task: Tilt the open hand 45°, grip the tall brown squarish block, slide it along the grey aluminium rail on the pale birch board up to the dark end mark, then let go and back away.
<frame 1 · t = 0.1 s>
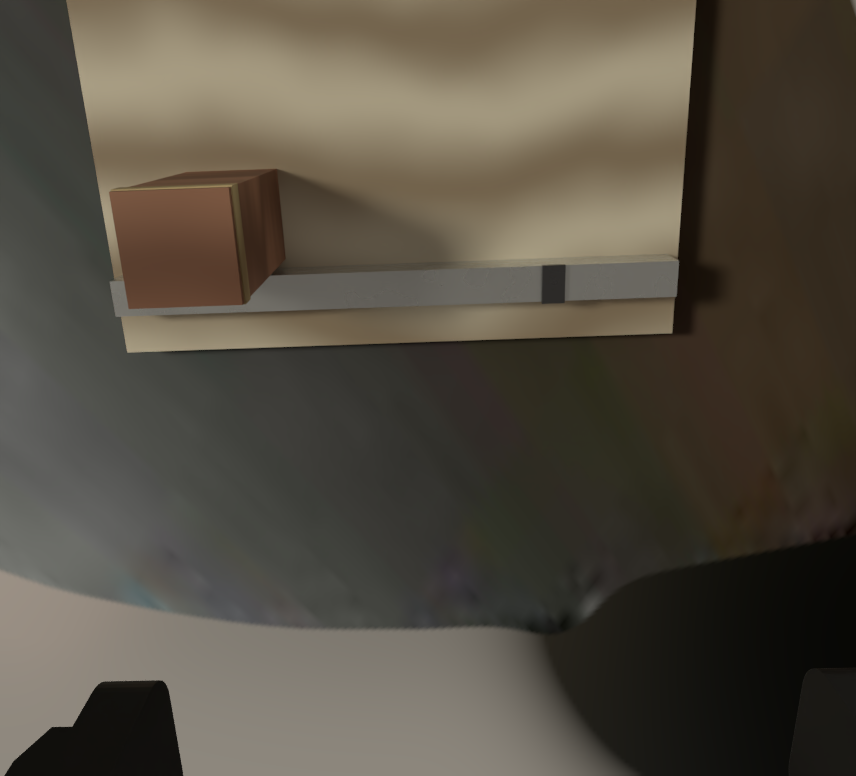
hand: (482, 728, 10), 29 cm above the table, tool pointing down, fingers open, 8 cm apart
brown squarish block: (237, 216, 35), point 1 cm above the table, touching board
rail: (396, 274, 37), resting on board
board: (391, 166, 36), on the table
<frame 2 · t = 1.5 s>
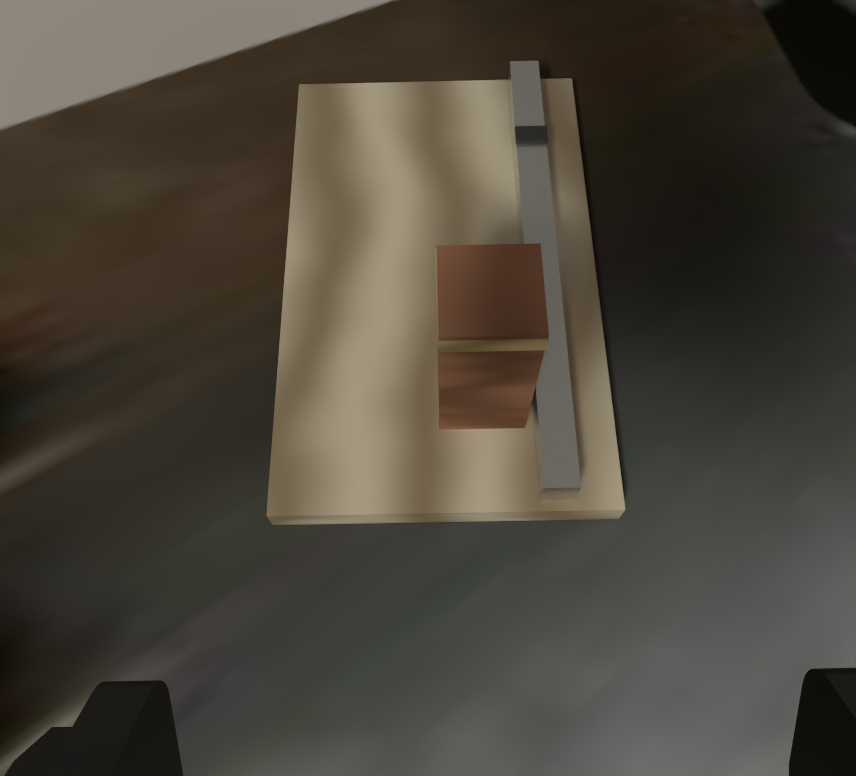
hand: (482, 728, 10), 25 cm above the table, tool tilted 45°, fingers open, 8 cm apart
brown squarish block: (480, 390, 37), point 1 cm above the table, touching board
rail: (533, 281, 41), resting on board
board: (439, 283, 41), on the table
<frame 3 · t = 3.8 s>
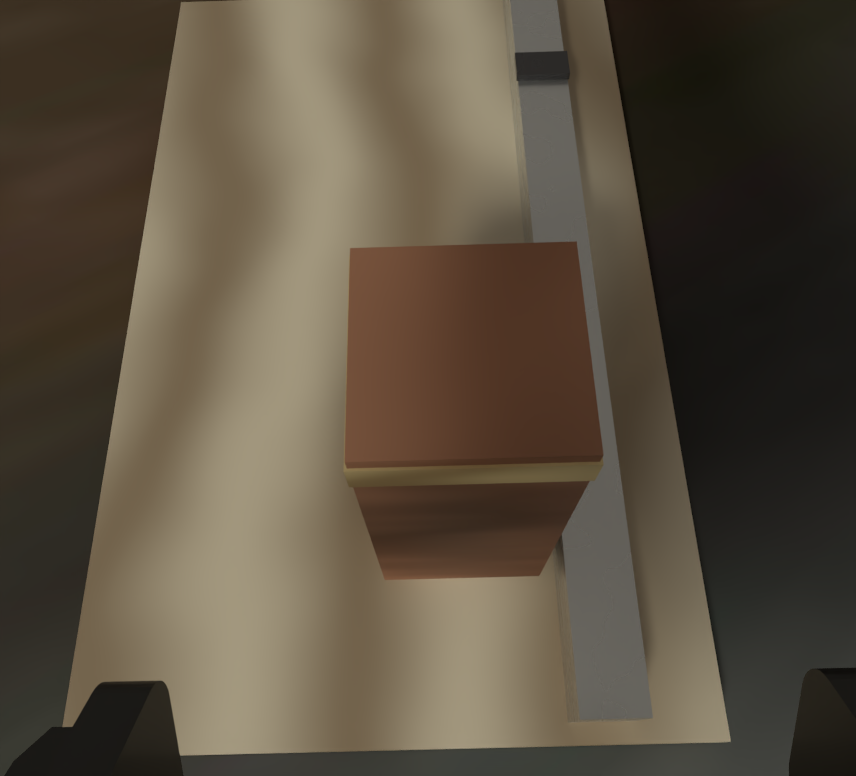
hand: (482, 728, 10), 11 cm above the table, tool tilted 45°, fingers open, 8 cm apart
brown squarish block: (458, 503, 21), point 1 cm above the table, touching board
rail: (548, 306, 25), resting on board
board: (394, 310, 25), on the table
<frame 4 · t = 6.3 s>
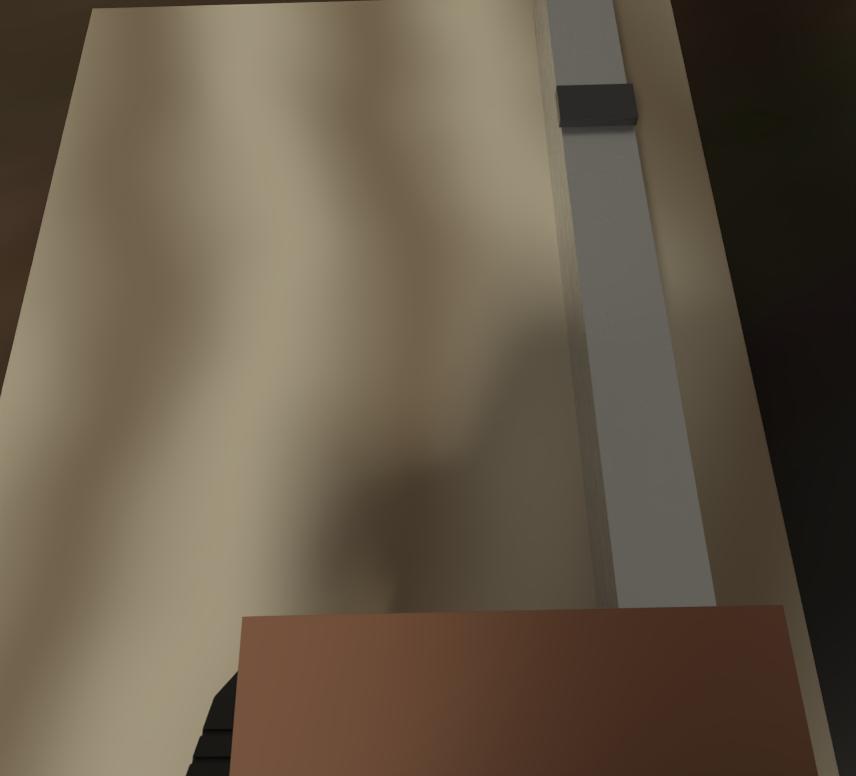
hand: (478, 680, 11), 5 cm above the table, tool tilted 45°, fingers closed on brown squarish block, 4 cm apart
rail: (603, 455, 17), resting on board
board: (379, 461, 17), on the table
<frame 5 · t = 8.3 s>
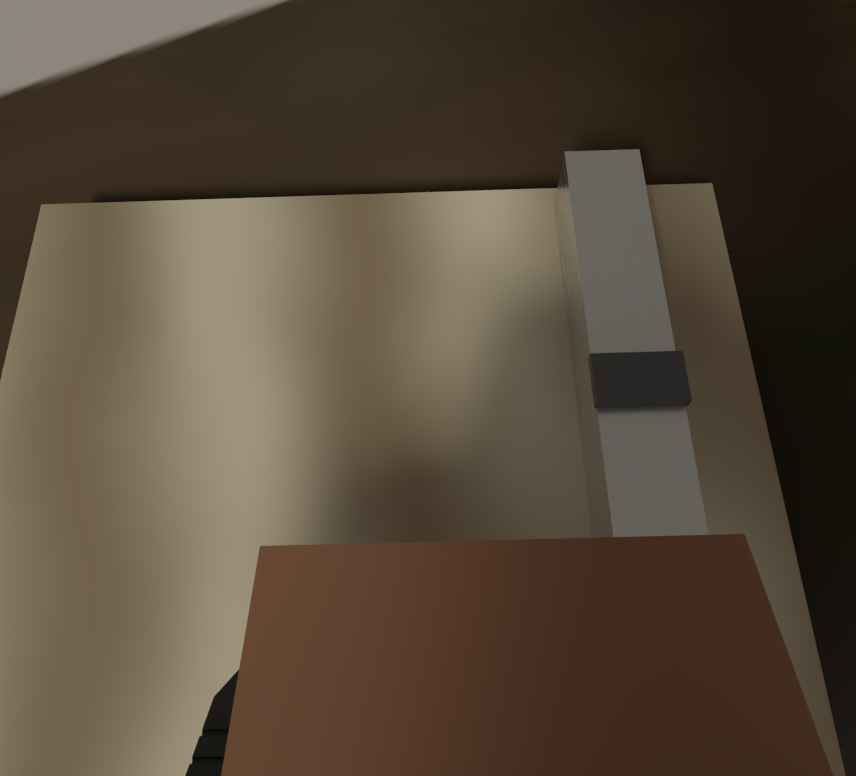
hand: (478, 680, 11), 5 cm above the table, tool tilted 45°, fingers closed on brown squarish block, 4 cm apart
when the fingers open (5 cm above the table, at t = 10.3 s): brown squarish block stays where it is, resting on board.
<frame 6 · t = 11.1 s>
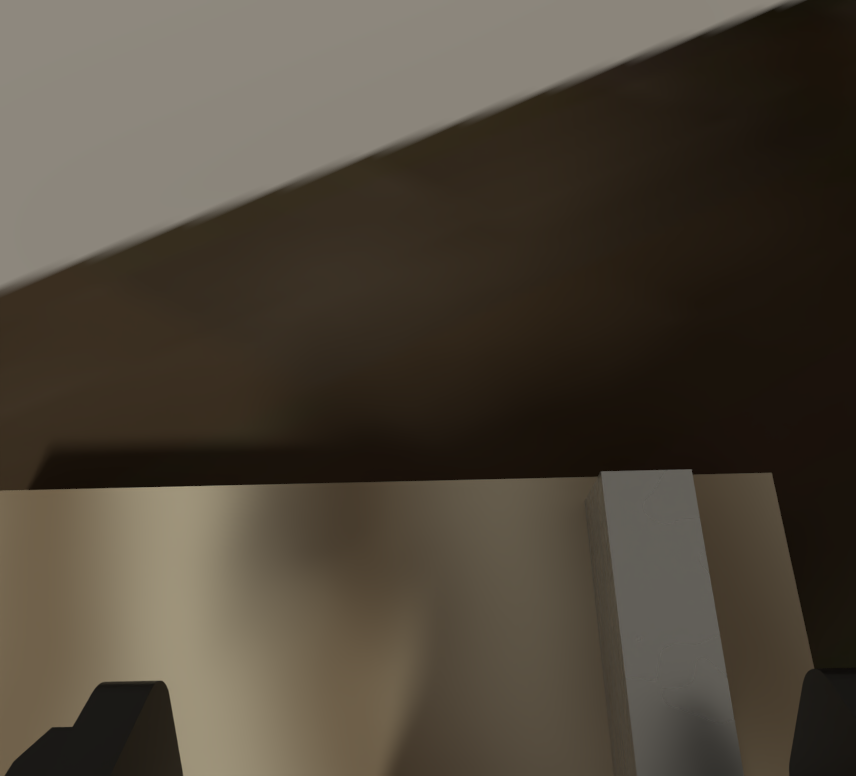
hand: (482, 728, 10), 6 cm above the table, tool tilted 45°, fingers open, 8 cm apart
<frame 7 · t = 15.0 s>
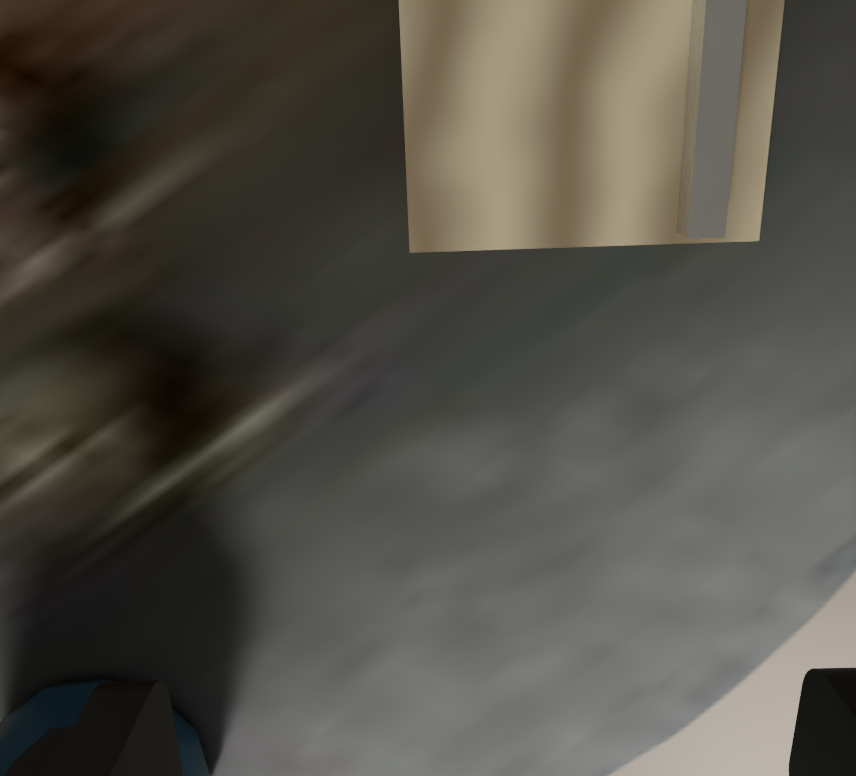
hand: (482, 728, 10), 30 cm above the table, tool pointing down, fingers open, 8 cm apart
wine bottle: (111, 756, 48), on the table
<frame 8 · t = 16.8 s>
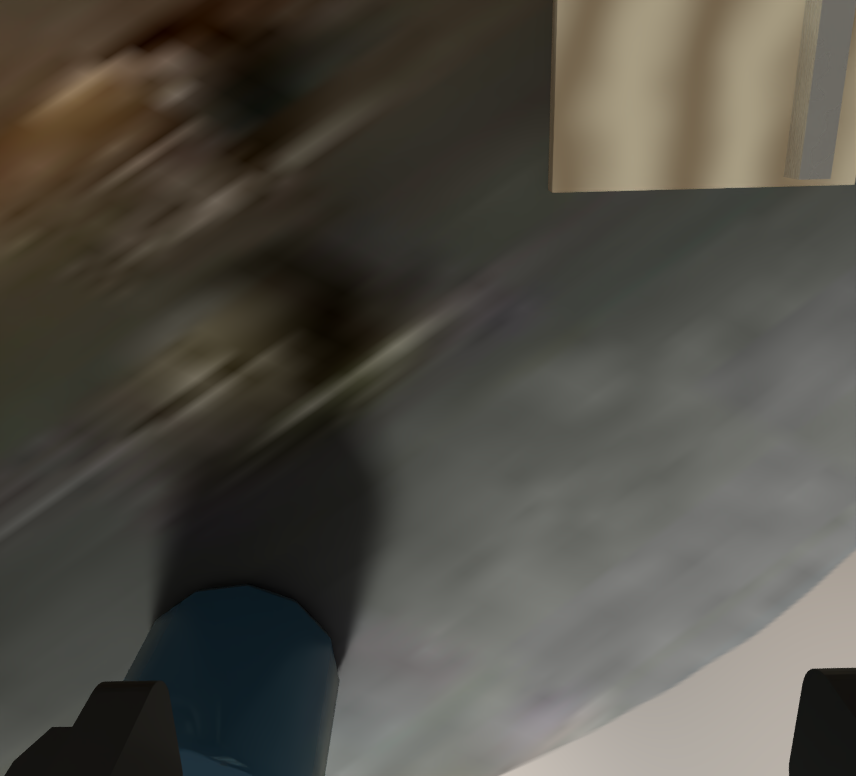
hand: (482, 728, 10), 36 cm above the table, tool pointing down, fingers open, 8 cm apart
wine bottle: (245, 658, 54), on the table
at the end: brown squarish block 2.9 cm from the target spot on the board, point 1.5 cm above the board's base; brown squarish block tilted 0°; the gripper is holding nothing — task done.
